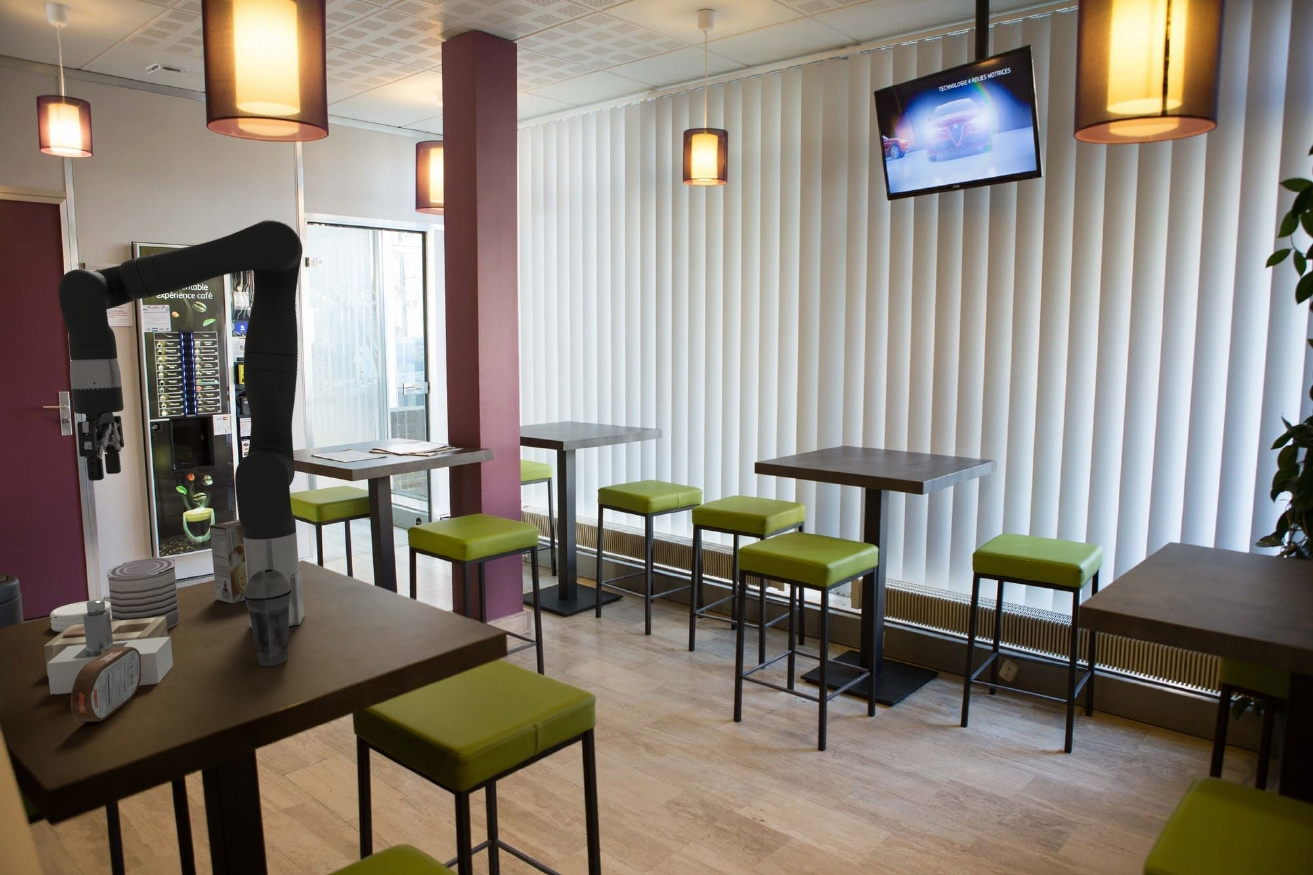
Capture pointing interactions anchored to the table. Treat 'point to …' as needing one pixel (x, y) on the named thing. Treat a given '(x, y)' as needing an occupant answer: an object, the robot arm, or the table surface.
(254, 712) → the table surface
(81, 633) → the key
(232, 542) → the coffee box
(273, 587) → the beverage cup
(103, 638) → the stepped metal cylinder
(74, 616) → the white round container
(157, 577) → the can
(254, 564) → the robot arm
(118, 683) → the tin
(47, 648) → the socket block
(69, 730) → the table surface
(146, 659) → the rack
